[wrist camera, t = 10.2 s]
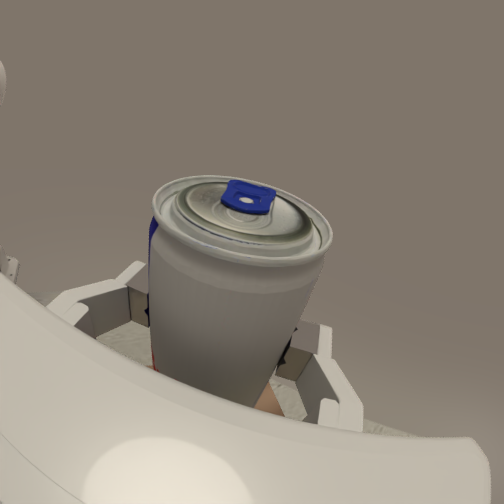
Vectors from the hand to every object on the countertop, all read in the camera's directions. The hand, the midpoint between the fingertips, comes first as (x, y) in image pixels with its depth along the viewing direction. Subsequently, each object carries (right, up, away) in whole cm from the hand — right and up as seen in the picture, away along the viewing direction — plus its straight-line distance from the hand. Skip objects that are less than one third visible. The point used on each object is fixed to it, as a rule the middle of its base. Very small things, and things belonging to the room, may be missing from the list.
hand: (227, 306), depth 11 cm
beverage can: (-2, -9, +5) cm, 10 cm away
